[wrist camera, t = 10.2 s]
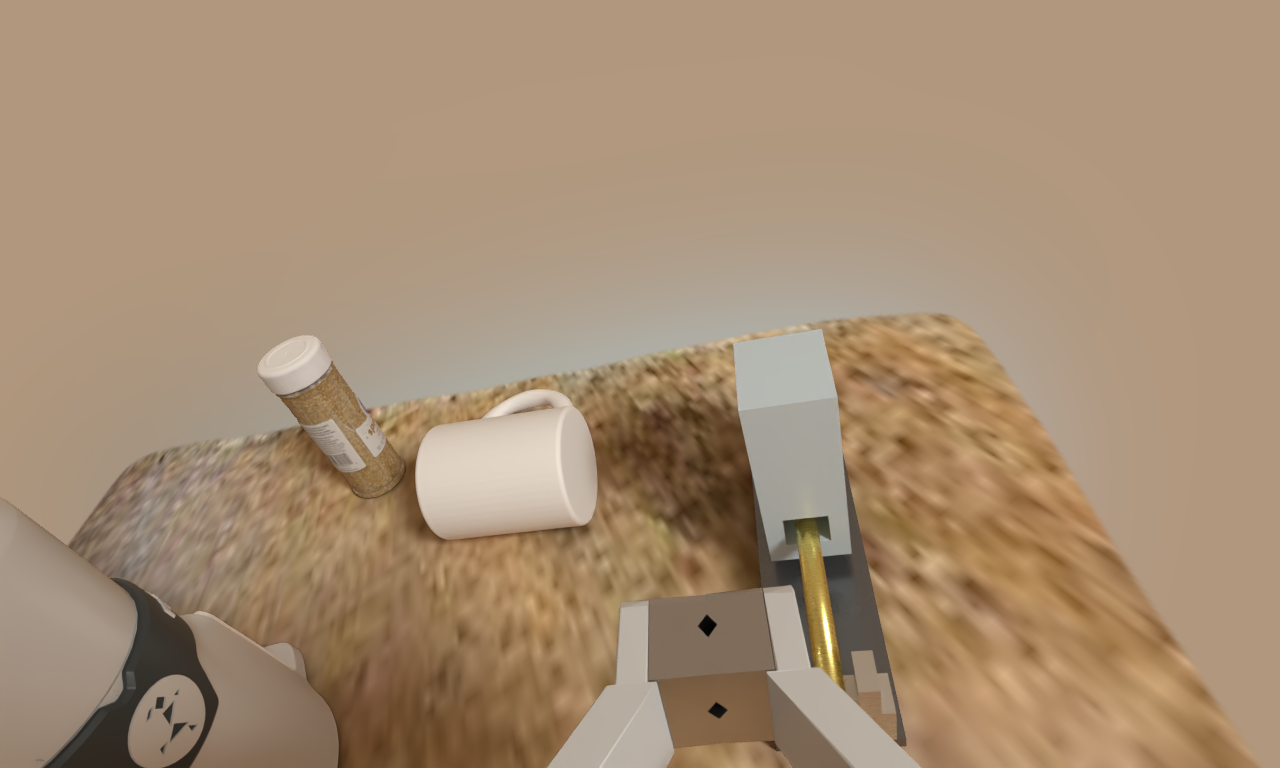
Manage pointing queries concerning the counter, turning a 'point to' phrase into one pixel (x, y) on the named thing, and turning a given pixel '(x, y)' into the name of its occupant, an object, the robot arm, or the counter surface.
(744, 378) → the box sleeve
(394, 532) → the counter surface
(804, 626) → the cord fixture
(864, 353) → the counter surface
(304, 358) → the sprinkles bottle
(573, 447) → the mug
